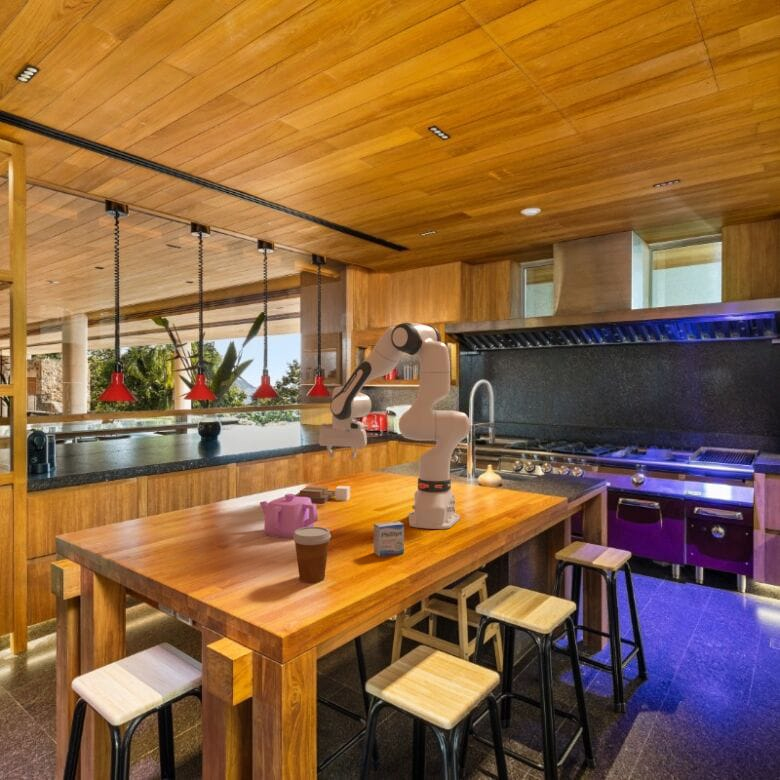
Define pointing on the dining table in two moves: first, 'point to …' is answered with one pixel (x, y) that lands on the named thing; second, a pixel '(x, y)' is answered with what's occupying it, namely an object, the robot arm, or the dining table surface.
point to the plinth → (319, 499)
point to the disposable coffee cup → (312, 552)
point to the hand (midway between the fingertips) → (342, 456)
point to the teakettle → (288, 515)
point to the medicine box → (388, 538)
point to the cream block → (342, 493)
